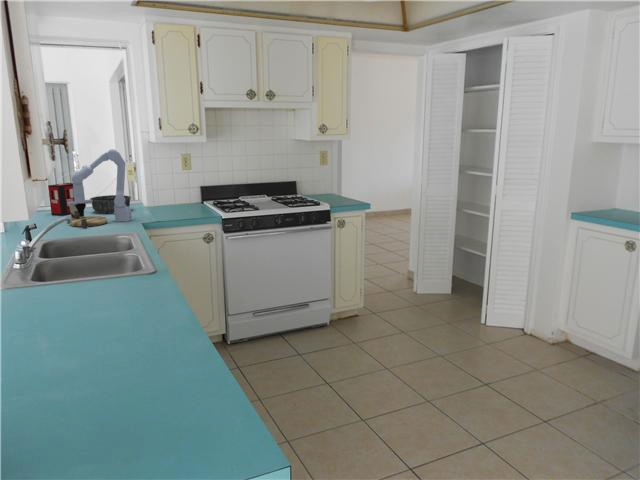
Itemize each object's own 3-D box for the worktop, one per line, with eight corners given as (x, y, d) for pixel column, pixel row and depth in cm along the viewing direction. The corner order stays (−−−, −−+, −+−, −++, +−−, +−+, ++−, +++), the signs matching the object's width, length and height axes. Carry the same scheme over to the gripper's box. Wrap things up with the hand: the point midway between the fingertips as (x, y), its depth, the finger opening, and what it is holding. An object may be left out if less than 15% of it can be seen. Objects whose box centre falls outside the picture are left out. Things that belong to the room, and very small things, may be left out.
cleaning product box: (71, 211, 342) (68, 182, 338) (81, 212, 340) (78, 183, 335) (51, 215, 327) (48, 185, 323) (62, 216, 324) (58, 186, 320)
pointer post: (86, 228, 285) (85, 219, 284) (82, 228, 285) (81, 220, 284) (88, 226, 290) (87, 218, 288) (83, 227, 289) (82, 218, 288)
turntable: (113, 221, 305) (112, 210, 303) (91, 227, 286) (89, 215, 284) (86, 219, 310) (85, 208, 308) (62, 225, 291) (61, 213, 289)
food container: (90, 218, 317) (88, 202, 315) (81, 219, 312) (80, 204, 310) (78, 216, 323) (77, 201, 321) (70, 217, 318) (68, 202, 316)
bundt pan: (132, 213, 335) (131, 199, 332) (90, 216, 325) (88, 201, 323) (131, 207, 359) (130, 194, 356) (92, 210, 349) (90, 196, 347)
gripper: (87, 192, 306) (89, 213, 309) (63, 194, 295) (66, 216, 298) (93, 193, 302) (95, 214, 305) (69, 195, 291) (72, 218, 294)
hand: (81, 216), depth 301 cm, fingers closed
